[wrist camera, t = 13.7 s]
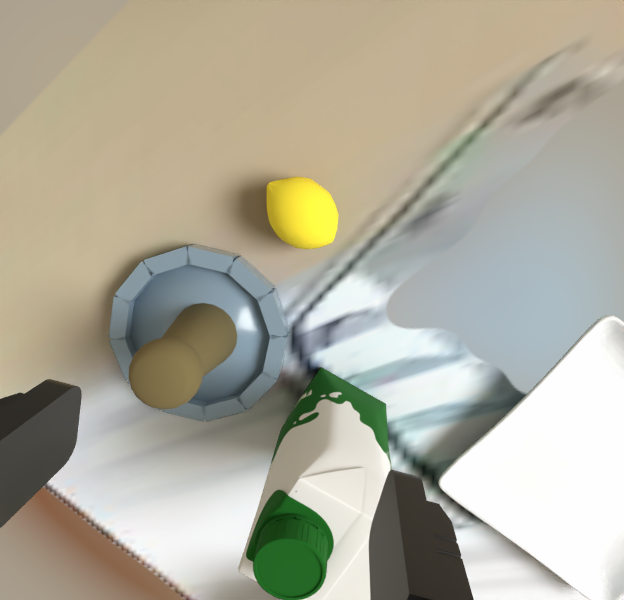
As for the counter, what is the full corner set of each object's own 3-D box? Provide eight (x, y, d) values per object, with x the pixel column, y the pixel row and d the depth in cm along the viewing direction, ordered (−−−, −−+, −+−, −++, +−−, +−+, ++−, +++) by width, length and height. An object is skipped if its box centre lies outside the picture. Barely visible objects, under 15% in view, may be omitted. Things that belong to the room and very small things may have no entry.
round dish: (131, 229, 42) (121, 230, 40) (303, 269, 41) (301, 273, 39) (111, 388, 45) (101, 396, 44) (268, 427, 45) (265, 436, 43)
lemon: (351, 213, 40) (359, 223, 35) (309, 257, 41) (310, 273, 36) (292, 156, 39) (291, 157, 34) (250, 204, 40) (242, 212, 35)
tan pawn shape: (166, 353, 43) (106, 407, 33) (181, 294, 42) (124, 329, 31) (228, 373, 43) (188, 433, 32) (244, 314, 42) (208, 357, 31)
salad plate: (589, 586, 47) (608, 616, 43) (427, 465, 45) (433, 487, 42) (762, 440, 42) (798, 462, 38) (587, 299, 40) (608, 309, 37)
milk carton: (317, 354, 43) (290, 488, 23) (400, 401, 43) (441, 571, 24) (272, 426, 45) (214, 605, 26) (352, 471, 45) (354, 680, 26)
